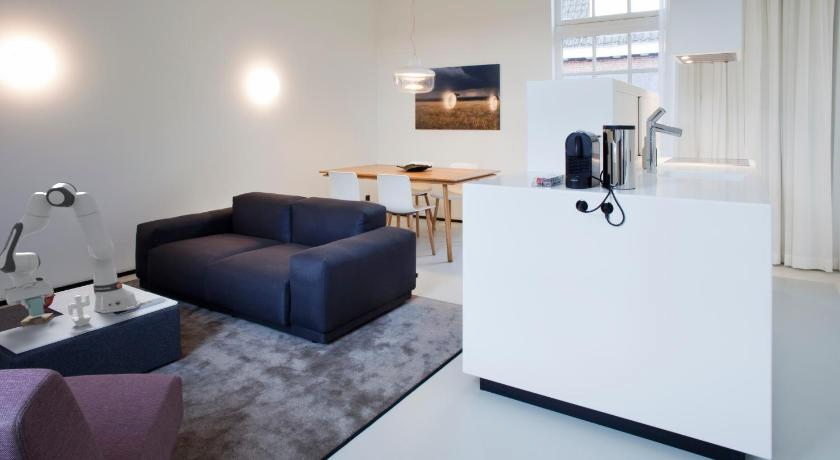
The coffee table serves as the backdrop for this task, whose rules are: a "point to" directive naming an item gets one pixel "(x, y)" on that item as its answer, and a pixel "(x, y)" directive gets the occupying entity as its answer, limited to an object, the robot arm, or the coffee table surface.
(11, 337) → the coffee table surface
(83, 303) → the figurine
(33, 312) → the teal block
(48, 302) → the decorative bird figurine
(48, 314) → the beige square slab
